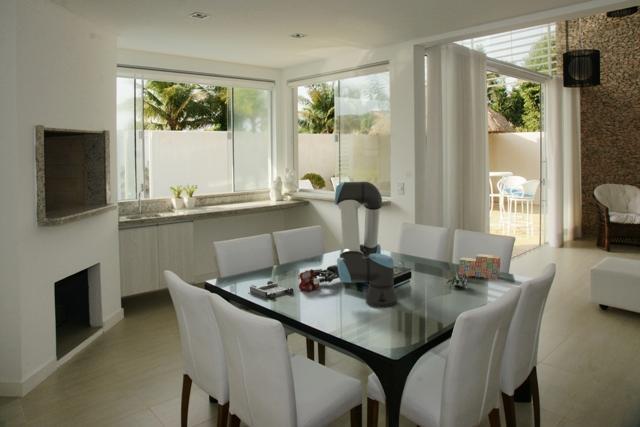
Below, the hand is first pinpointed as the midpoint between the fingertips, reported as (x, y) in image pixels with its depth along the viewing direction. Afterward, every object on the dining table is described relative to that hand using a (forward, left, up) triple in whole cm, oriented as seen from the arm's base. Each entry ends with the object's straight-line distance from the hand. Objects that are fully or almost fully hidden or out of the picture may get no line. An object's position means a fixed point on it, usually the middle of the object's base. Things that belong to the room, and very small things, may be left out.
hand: (305, 279), depth 247 cm
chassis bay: (+10, +15, -6) cm, 19 cm away
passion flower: (-53, -59, -6) cm, 80 cm away
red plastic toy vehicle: (0, -2, -6) cm, 7 cm away
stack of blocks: (-49, -88, -6) cm, 101 cm away
